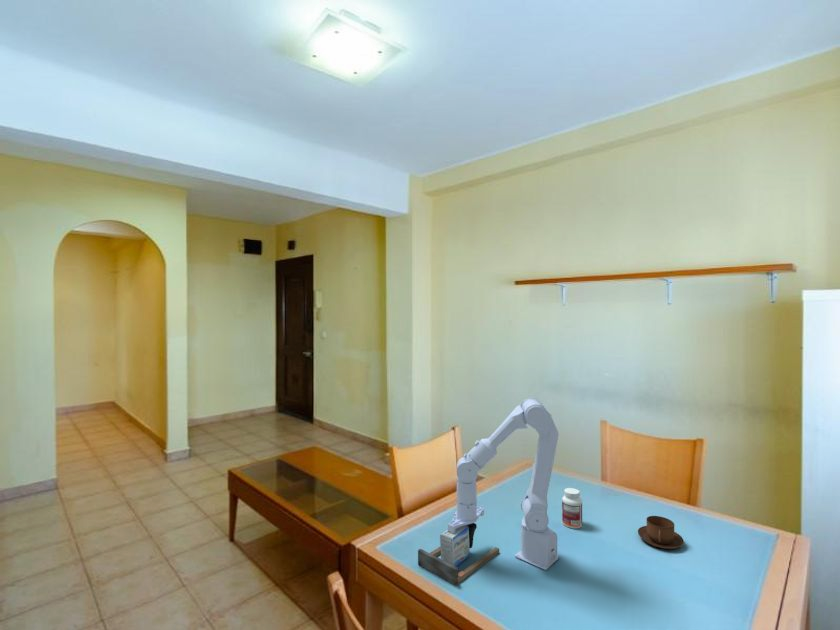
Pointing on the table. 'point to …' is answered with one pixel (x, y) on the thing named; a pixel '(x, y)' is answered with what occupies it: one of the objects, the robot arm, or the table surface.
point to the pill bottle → (572, 508)
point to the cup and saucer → (660, 533)
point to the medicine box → (455, 545)
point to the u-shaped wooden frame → (448, 570)
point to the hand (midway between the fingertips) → (466, 547)
